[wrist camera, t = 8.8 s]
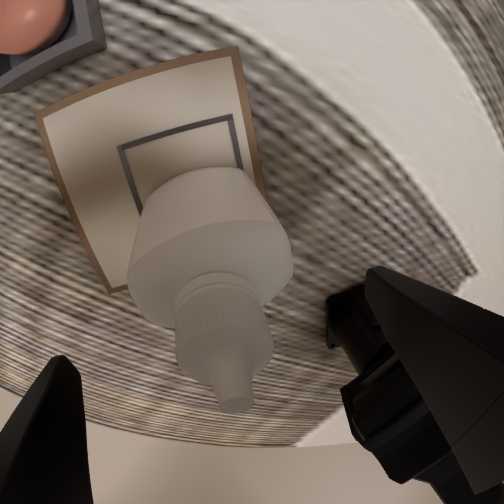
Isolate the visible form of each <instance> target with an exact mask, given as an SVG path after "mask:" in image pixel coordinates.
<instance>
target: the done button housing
mask: <svg viewBox="0 0 504 504" xmlns="http://www.w3.org/2000/svg"><path fill="white" fill-rule="evenodd" d="M71 2H72V12H71V16H70V19H69V22H68V24H67V26H66V28H65V30H64V31H63V33H62V34H61V35H60V36H59V38H58V39H57V40H56V41H55V42H54V43H53V44H52V45H51V46H49V47H48V48H46V49H45V50H43V51H41V52H39V53H37V54H34V55H30V56H21V55H12V54H2V53H0V94H4V93H12V92H16V91H18V90H20V89H21V88H23V87H25V86H26V85H28V84H30V83H32V82H34V81H35V80H37V79H39V78H41V77H43V76H45V75H47V74H49V73H51V72H53V71H55V70H57V69H59V68H61V67H63V66H65V65H67V64H69V63H71V62H74V61H76V60H78V59H80V58H83V57H85V56H87V55H90V54H92V53H95V52H97V51H100V50H102V49H105V48H107V45H106V41H105V36H104V30H103V25H102V20H101V14H100V8H99V2H98V0H71Z"/></svg>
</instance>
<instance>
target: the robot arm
mask: <svg viewBox="0 0 504 504" xmlns="http://www.w3.org/2000/svg"><path fill="white" fill-rule="evenodd" d="M332 302H333V303H332ZM326 345H327V347H328V348H329V349H333V348H336V347H338V346H342V348H343V349H344V351H345V353H346V354H347V356H348V358H349V359H350V361H351V363H352V365H353V366H354V368H355V370H356V371H357V373H358V375H359V376H357V377H356V378H355V379H354V380H352V381H351V382H350V383H349V384H347V385H344V386H343V387H342V388H340V392H341V396H342V401H343V404H344V408H345V411H346V415H347V418H348V422H349V426H350V429H351V433H352V435H353V436H354V438H355V440H356V441H358V442H359V443H360V444H361V445H362V446H363V447H364V448H365V449H366V450H368V451H370V452H372V453H373V455H374V456H375V457H376V458H377V460H378V461H379V462H380V464H381V466H382V467H383V469H384V470H385V472H386V474H387V475H388V477H389V478H390V479H392V480H393V481H395V482H397V483H399V484H404V483H405V482H407V481H409V480H410V479H415V480H418V481H422V482H426V483H429V484H430V485H431V486H432V488H433V489H434V490H435V492H436V493H437V495H438V496H439V497H440V499H441V500H442V502H443V503H444V504H504V317H503V316H501V315H498V314H496V313H494V312H491V311H489V310H487V309H483V308H482V307H480V306H477V305H475V304H473V303H470V302H468V301H466V300H463V299H461V298H459V297H456V296H454V295H452V294H449V293H447V292H445V291H442V290H440V289H437V288H435V287H433V286H430V285H428V284H425V283H423V282H420V281H418V280H416V279H413V278H411V277H408V276H406V275H403V274H401V273H398V272H396V271H393V270H391V269H388V268H386V267H383V266H376V267H373V268H370V269H368V270H367V272H366V281H365V285H363V286H360V287H357V288H354V289H352V290H349V291H346V292H343V293H340V294H337V295H335V296H332V297H330V298H328V299H327V301H326ZM0 504H93V497H92V490H91V482H90V474H89V464H88V452H87V436H86V420H85V411H84V402H83V393H82V381H81V375H80V373H79V371H78V370H77V369H76V367H75V366H74V365H73V364H72V363H71V362H70V360H69V359H68V358H67V357H66V356H64V355H59V356H54V357H52V358H51V359H50V361H49V362H48V363H47V365H46V366H45V367H44V369H43V370H42V371H41V373H40V374H39V376H38V377H37V378H36V380H35V381H34V383H33V384H32V385H31V387H30V388H29V390H28V391H27V392H26V394H25V395H24V397H23V398H22V400H21V401H20V403H19V404H18V406H17V407H16V409H15V410H14V412H13V413H12V415H11V416H10V418H9V420H8V421H7V423H6V424H5V426H4V427H3V429H2V431H1V432H0Z"/></svg>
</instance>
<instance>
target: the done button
mask: <svg viewBox="0 0 504 504" xmlns="http://www.w3.org/2000/svg"><path fill="white" fill-rule="evenodd" d="M71 12H72V2H71V0H0V53H2V54H12V55H21V56H30V55H34V54H37V53H39V52H41V51H43V50H45V49H46V48H48V47H49V46H51V45H52V44H53V43H54V42H55V41H56V40H57V39H58V38H59V36H60V35H61V34H62V33H63V31H64V30H65V28H66V26H67V24H68V22H69V19H70V16H71Z"/></svg>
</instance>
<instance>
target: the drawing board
mask: <svg viewBox="0 0 504 504" xmlns="http://www.w3.org/2000/svg"><path fill="white" fill-rule="evenodd" d="M34 114H35V117H36V121H37V124H38V128H39V131H40V134H41V138H42V141H43V144H44V147H45V150H46V153H47V156H48V159H49V162H50V165H51V168H52V171H53V173H54V176H55V179H56V181H57V184H58V187H59V189H60V192H61V194H62V197H63V199H64V202H65V204H66V207H67V209H68V211H69V214H70V216H71V218H72V221H73V223H74V225H75V227H76V230H77V232H78V234H79V236H80V238H81V240H82V242H83V245H84V247H85V249H86V251H87V253H88V255H89V257H90V259H91V261H92V263H93V265H94V267H95V269H96V271H97V273H98V275H99V276H100V278H101V280H102V282H103V284H104V286H105V288H106V289H107V291H108V293H109V294H111V293H115V292H119V291H122V290H126V289H128V284H127V273H128V267H129V261H130V257H131V252H132V248H133V244H134V240H135V236H136V232H137V228H138V224H139V221H140V217H141V213H142V210H143V207H144V204H145V202H146V200H147V198H148V197H149V196H150V195H151V194H152V193H153V192H154V191H155V190H156V189H157V188H159V187H160V186H161V185H163V184H164V183H166V182H167V181H169V180H171V179H172V178H174V177H176V176H178V175H181V174H183V173H185V172H188V171H191V170H195V169H199V168H205V167H215V166H226V167H235V168H239V169H241V170H243V171H245V172H246V174H247V175H248V176H249V178H250V179H251V181H252V182H253V183H254V185H255V186H256V188H257V189H258V190H259V192H260V193H261V195H262V196H263V198H264V199H265V201H266V202H267V198H266V193H265V187H264V181H263V175H262V170H261V164H260V158H259V153H258V147H257V142H256V136H255V131H254V125H253V120H252V115H251V109H250V104H249V99H248V94H247V88H246V83H245V78H244V73H243V68H242V63H241V58H240V53H239V48H238V46H236V47H229V48H224V49H218V50H213V51H208V52H203V53H198V54H194V55H189V56H185V57H181V58H177V59H173V60H169V61H166V62H162V63H158V64H155V65H152V66H148V67H145V68H142V69H139V70H135V71H132V72H129V73H126V74H124V75H121V76H118V77H115V78H112V79H110V80H107V81H104V82H102V83H99V84H97V85H94V86H92V87H89V88H87V89H85V90H82V91H80V92H78V93H75V94H73V95H71V96H69V97H66V98H64V99H62V100H60V101H58V102H56V103H54V104H52V105H50V106H48V107H46V108H44V109H42V110H40V111H38V112H36V113H34Z"/></svg>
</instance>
